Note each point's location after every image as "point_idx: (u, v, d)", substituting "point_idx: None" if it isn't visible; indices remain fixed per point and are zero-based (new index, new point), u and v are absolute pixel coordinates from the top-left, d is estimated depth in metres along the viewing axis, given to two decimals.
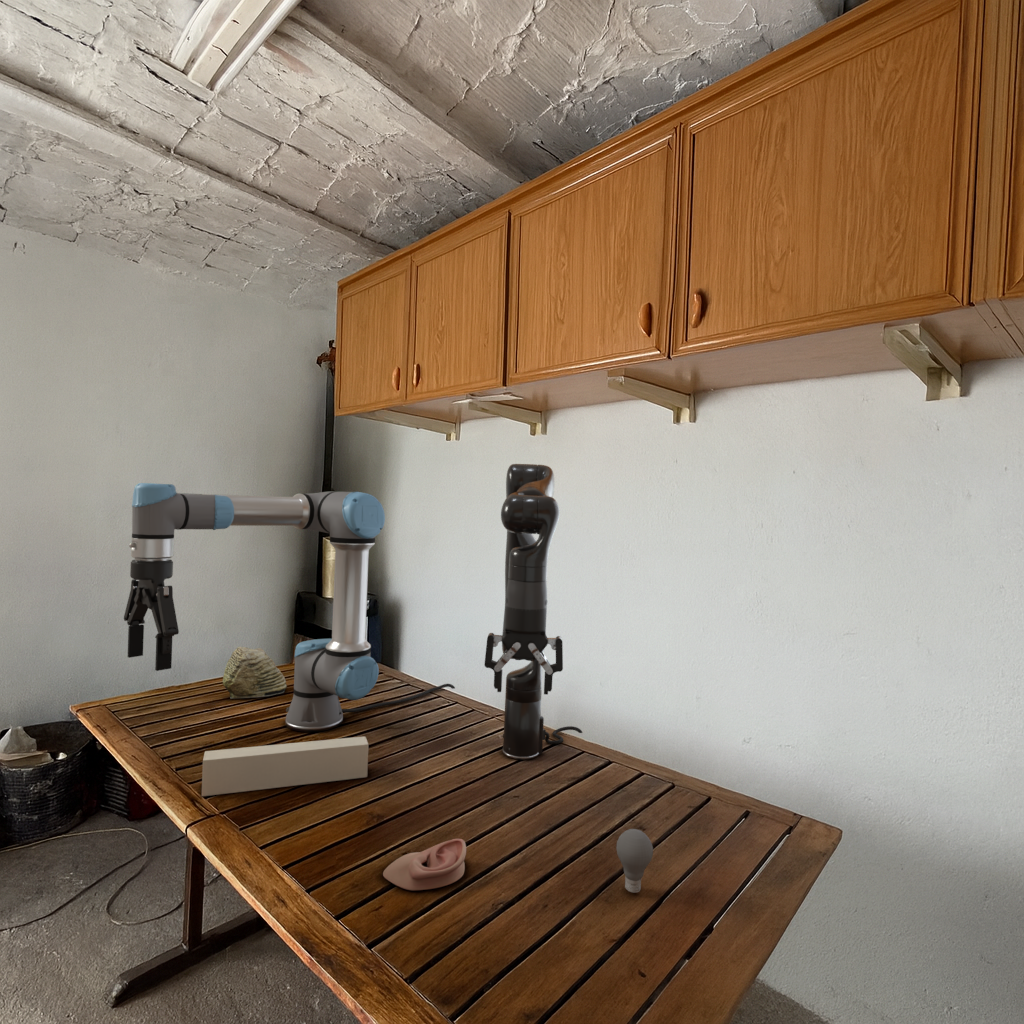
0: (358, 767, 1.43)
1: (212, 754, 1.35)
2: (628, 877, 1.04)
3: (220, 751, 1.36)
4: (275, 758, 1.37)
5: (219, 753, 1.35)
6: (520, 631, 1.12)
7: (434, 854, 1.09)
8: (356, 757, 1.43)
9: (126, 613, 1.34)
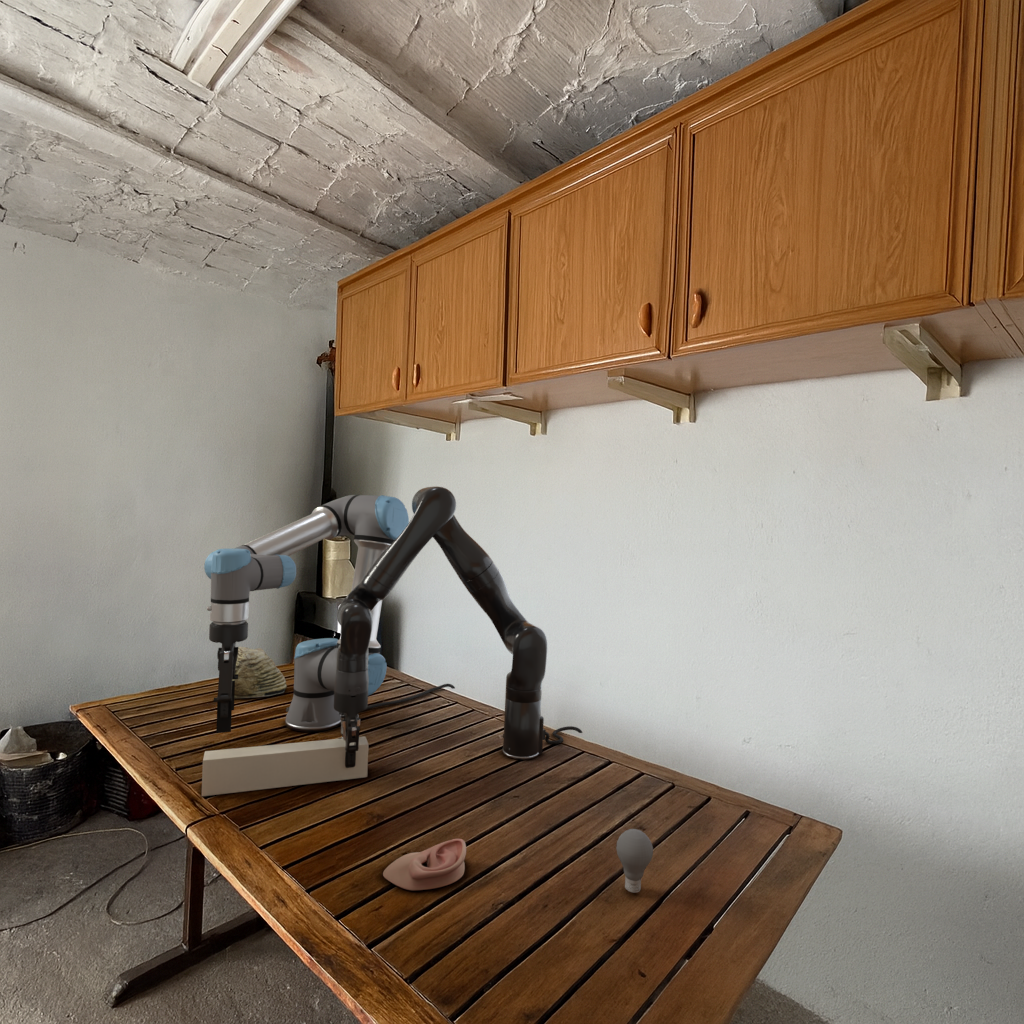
0: (358, 767, 1.43)
1: (212, 754, 1.35)
2: (628, 877, 1.04)
3: (220, 751, 1.36)
4: (275, 758, 1.37)
5: (219, 753, 1.35)
6: None
7: (434, 854, 1.09)
8: (356, 757, 1.43)
9: None
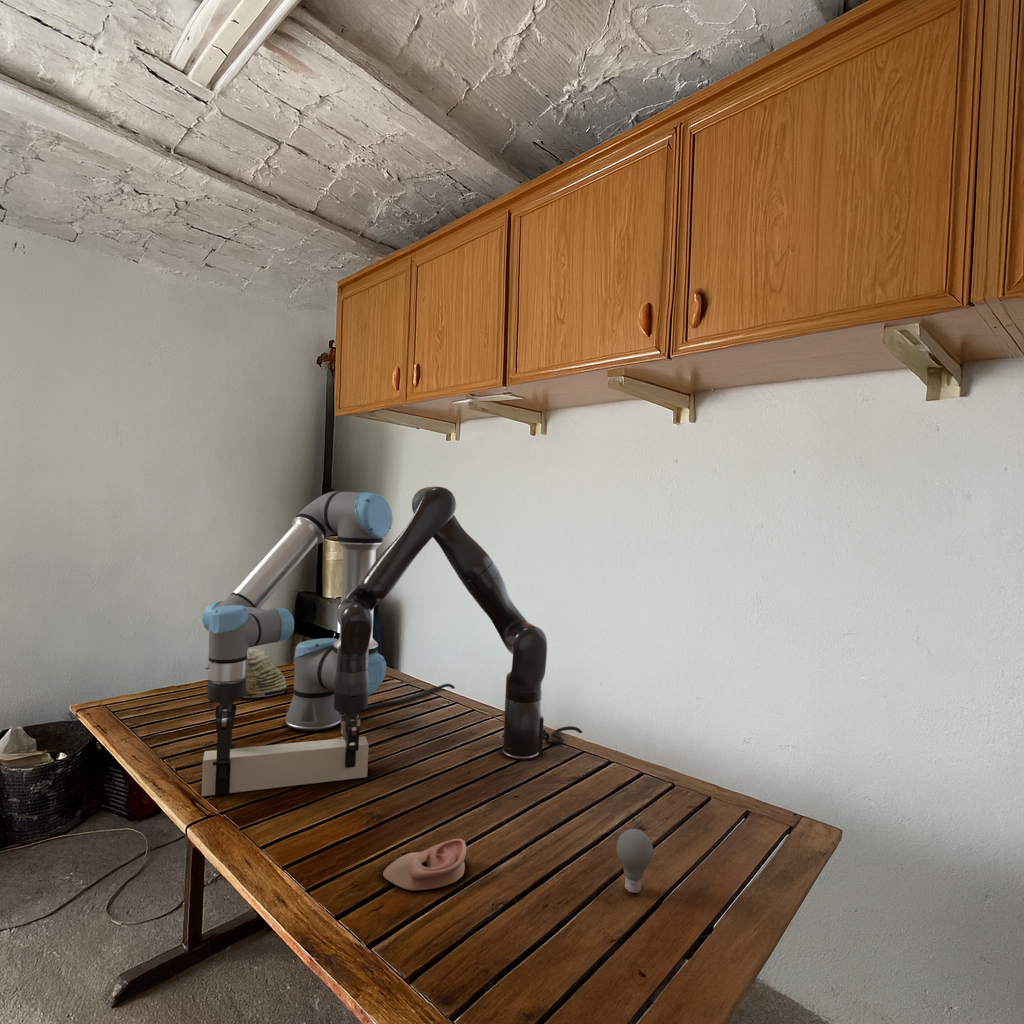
0: (358, 767, 1.43)
1: (212, 754, 1.35)
2: (628, 877, 1.04)
3: None
4: (275, 758, 1.37)
5: None
6: None
7: (434, 854, 1.09)
8: (356, 757, 1.43)
9: None
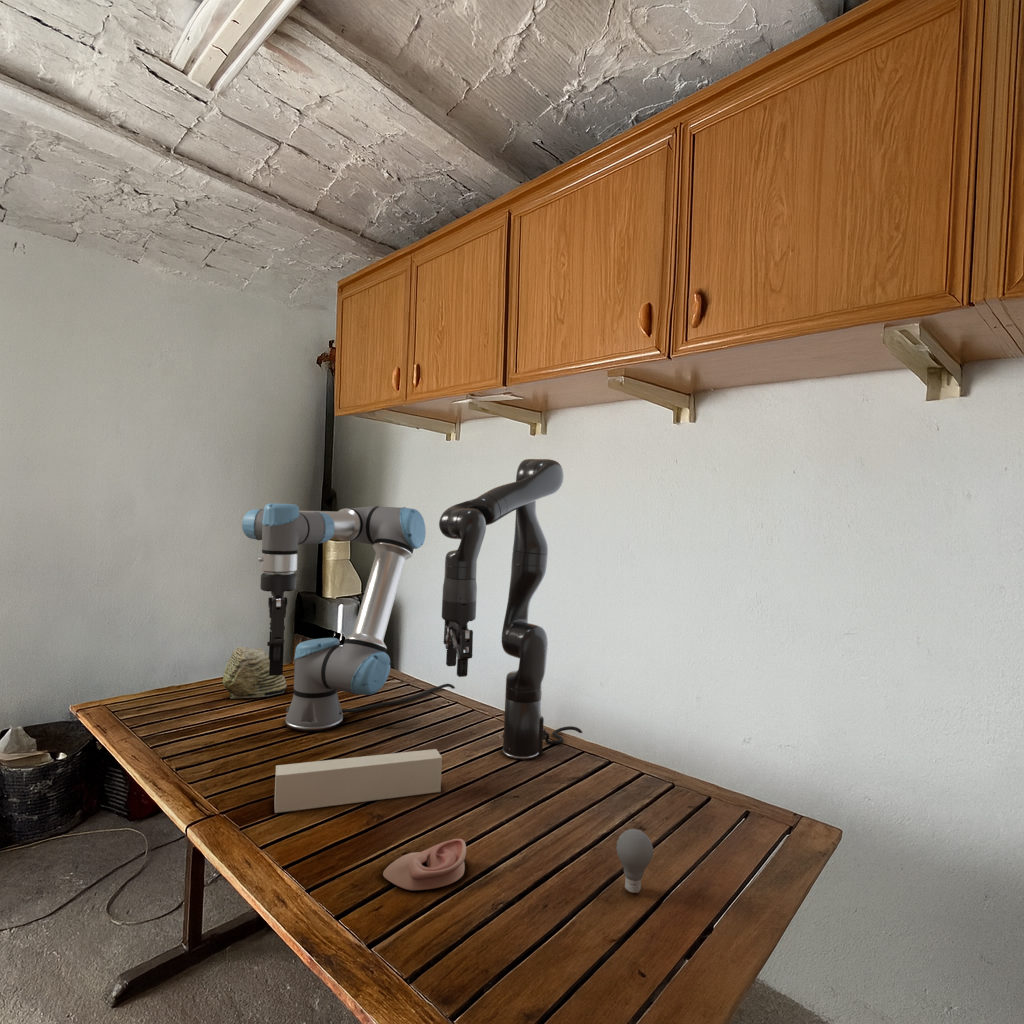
0: (431, 782, 1.38)
1: (283, 768, 1.29)
2: (628, 877, 1.04)
3: (291, 765, 1.31)
4: (349, 773, 1.31)
5: (290, 768, 1.30)
6: (475, 617, 1.40)
7: (434, 854, 1.09)
8: (430, 771, 1.37)
9: None
